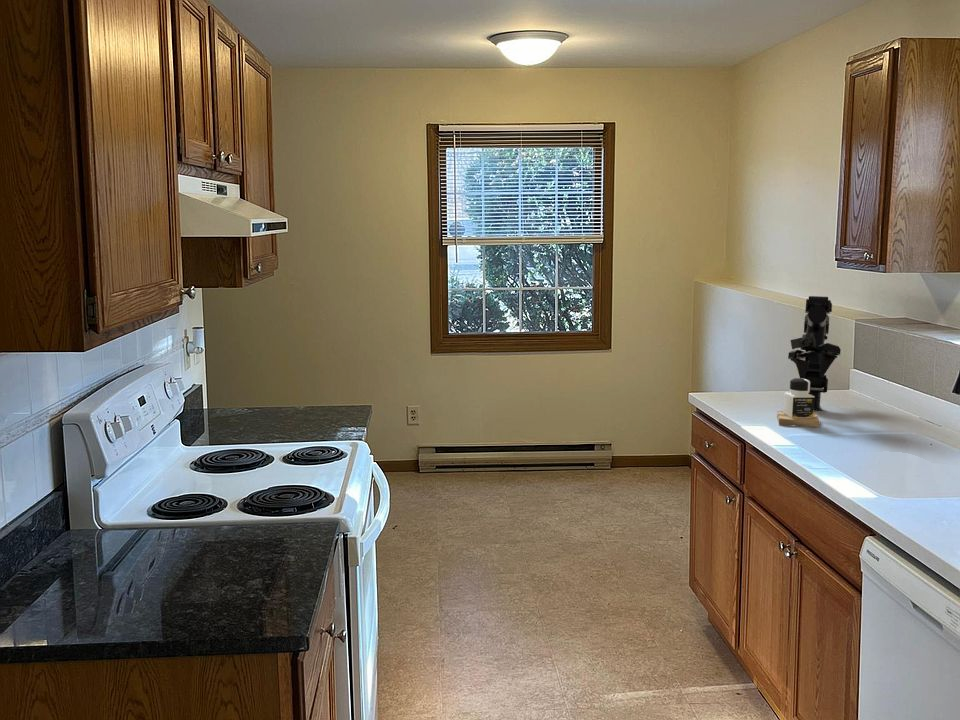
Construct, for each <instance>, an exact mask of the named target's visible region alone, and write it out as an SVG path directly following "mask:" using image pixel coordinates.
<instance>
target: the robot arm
mask: <svg viewBox="0 0 960 720" xmlns="http://www.w3.org/2000/svg"><path fill="white" fill-rule="evenodd" d="M832 311H833V303H832V301H831V299H829V297H828V296H822V295H821V296H820V295H818V296H817V295H815V296H814V295H809V296H808V298H806V300H805V313H806V315H805V316H804V323H803V333H804V334H802V335H801V337H798V338H794V339H790V340H789V341H790V346H791V349H792V350H790V351H789V352H788V357H787V359H788V360H790V361H791V362H793V363H794V364H795V365H796V369H797V372H798V375H799V378H802V379H807V380H809V381H810V392H809V393H808V394H810V395H812V396H814V397H815V400H814V411H816V412H817V411H820V412H821V411H822V410H823V409H822V407H821V396H822V395H821V393H822V394H825V393H827V392H828V386H829V379H828V378H827V375H826V373H827V371H828V369H829V368H830V366H831V365H832V364H833V362H834V361H835V359H837V358H838V356H841V353H842V352H841V348H840V346H839V345H836V344H833V343H829V342H827V343H826V342H825V341H827V340H828V336H827V335H829V330H830V316H829V315H830V313H832Z"/></svg>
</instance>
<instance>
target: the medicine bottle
mask: <svg viewBox="0 0 960 720" xmlns="http://www.w3.org/2000/svg"><path fill="white" fill-rule="evenodd" d="M789 381H790V382H789V392H788V391H785V392H784V393H783V395H784V396H783V408H782V409H783V410H782V411H783V414H785V415H787V416H789V417H791V418H813V414H814V413H815V410H814V400H815V397H814V396H812V395H810V394H808V393H809V392H810V381H809V380H807V379H802V378H800V377H799V378H798V377H797V378H796V377H794V378H793V379H790V380H789Z"/></svg>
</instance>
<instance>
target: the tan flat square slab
mask: <svg viewBox="0 0 960 720" xmlns="http://www.w3.org/2000/svg"><path fill="white" fill-rule="evenodd" d="M776 418H777V423H778V426H786V425H795V426H794V427H801V426H808V427H807V428H817V427H819V428H820V419H819V417H818V415H817V413H815V412H814V414H813V418H791V417H789V416H787V415H785V414H783V410H782V411H781V410H777V412H776Z"/></svg>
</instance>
